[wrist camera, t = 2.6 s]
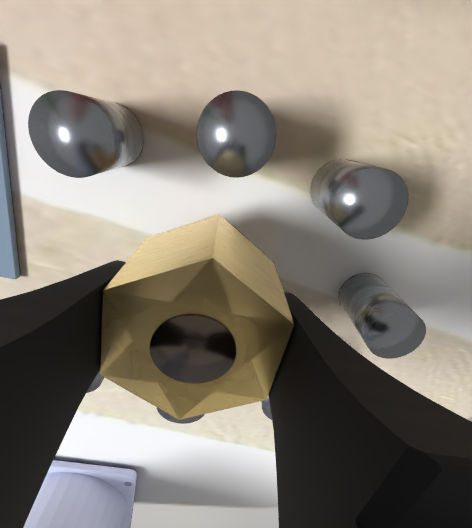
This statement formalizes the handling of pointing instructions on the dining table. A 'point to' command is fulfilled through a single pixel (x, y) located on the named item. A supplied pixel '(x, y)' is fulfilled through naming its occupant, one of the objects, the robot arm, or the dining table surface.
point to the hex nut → (195, 321)
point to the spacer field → (239, 165)
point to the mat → (6, 214)
